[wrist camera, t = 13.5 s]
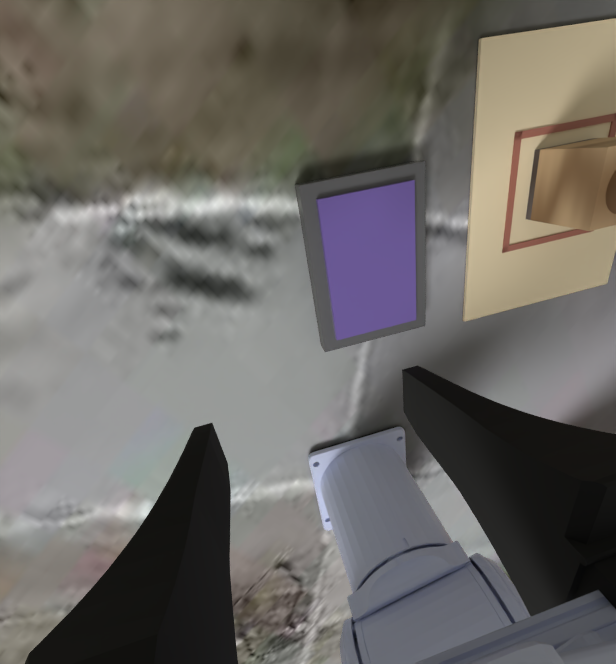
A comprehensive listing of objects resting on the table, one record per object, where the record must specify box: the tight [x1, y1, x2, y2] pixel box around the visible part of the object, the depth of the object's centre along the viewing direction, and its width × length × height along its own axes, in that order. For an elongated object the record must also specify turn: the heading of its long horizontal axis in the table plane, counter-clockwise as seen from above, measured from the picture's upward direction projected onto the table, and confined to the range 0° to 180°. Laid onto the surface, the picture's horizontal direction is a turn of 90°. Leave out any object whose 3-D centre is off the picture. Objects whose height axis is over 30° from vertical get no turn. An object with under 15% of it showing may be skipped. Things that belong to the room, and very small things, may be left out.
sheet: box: [463, 18, 616, 322], centre depth 22 cm, size 16×12×1 cm
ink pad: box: [295, 161, 425, 352], centre depth 21 cm, size 10×7×1 cm
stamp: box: [526, 137, 616, 231], centre depth 19 cm, size 4×4×6 cm
